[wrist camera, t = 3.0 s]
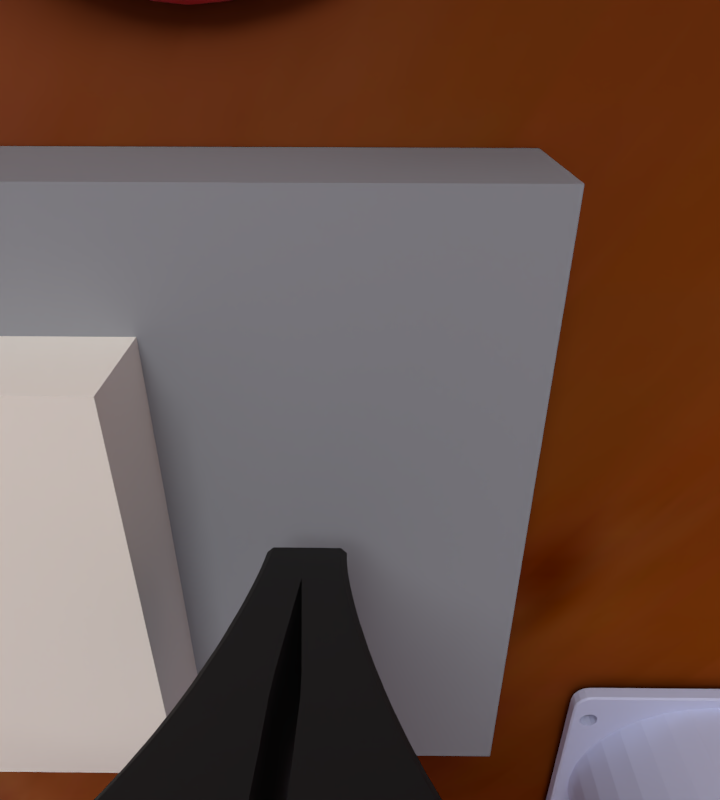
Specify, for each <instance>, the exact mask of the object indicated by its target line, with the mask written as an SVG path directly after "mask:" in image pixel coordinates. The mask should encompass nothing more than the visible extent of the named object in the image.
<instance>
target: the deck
mask: <svg viewBox="0 0 720 800" xmlns="http://www.w3.org/2000/svg"><path fill="white" fill-rule="evenodd" d="M583 190H584V183H583V182H581V181H580V180H579V179H577V178H576V177H575V176H574V175H572V174H571V173H570V172H569V171H567V170H566V169H565V168H564V167H562V166H561V165H560V164H558V163H557V162H556V161H555V160H553V159H552V158H551V157H550V156H548V155H547V154H546V153H544V152H543V151H542V150H541V149H539V148H354V147H90V146H0V336H67V337H136V338H137V344H138V349H139V355H140V360H141V366H142V371H143V377H144V382H145V388H146V393H147V399H148V404H149V410H150V415H151V421H152V426H153V432H154V438H155V443H156V449H157V454H158V460H159V465H160V471H161V476H162V482H163V487H164V493H165V498H166V504H167V509H168V515H169V520H170V526H171V531H172V537H173V543H174V548H175V554H176V559H177V565H178V570H179V576H180V581H181V587H182V592H183V598H184V603H185V609H186V614H187V620H188V625H189V631H190V637H191V642H192V648H193V653H194V659H195V664H196V670H197V675H198V674H199V672H200V671H201V669H202V668H203V666H204V665H205V663H206V662H207V660H208V659H209V658H210V656H211V655H212V653H213V652H214V650H215V649H216V647H217V646H218V644H219V642H220V641H221V639H222V638H223V636H224V634H225V633H226V631H227V629H228V628H229V626H230V624H231V623H232V621H233V619H234V618H235V616H236V614H237V613H238V611H239V609H240V607H241V606H242V604H243V602H244V600H245V598H246V596H247V595H248V593H249V591H250V589H251V587H252V585H253V583H254V581H255V579H256V577H257V575H258V573H259V571H260V569H261V567H262V564H263V562H264V560H265V557H266V555H267V552H268V551H270V550H271V549H272V548H273V547H290V548H341V549H343V550H344V551H345V552H346V553H347V568H348V576H349V582H350V587H351V591H352V596H353V600H354V604H355V608H356V611H357V615H358V618H359V621H360V624H361V627H362V630H363V633H364V636H365V639H366V642H367V645H368V648H369V651H370V654H371V657H372V659H373V662H374V665H375V667H376V670H377V672H378V674H379V677H380V679H381V682H382V684H383V687H384V689H385V691H386V694H387V696H388V698H389V701H390V703H391V705H392V707H393V709H394V712H395V714H396V716H397V718H398V720H399V722H400V724H401V726H402V728H403V730H404V732H405V734H406V736H407V738H408V740H409V742H410V744H411V746H412V748H413V750H414V752H415V754H416V755H417V756H490V752H491V746H492V740H493V734H494V728H495V722H496V716H497V710H498V704H499V698H500V692H501V686H502V680H503V673H504V667H505V661H506V655H507V649H508V643H509V637H510V631H511V625H512V619H513V613H514V607H515V601H516V595H517V589H518V583H519V577H520V571H521V565H522V559H523V553H524V546H525V540H526V534H527V528H528V522H529V516H530V510H531V504H532V498H533V492H534V486H535V480H536V474H537V468H538V462H539V456H540V450H541V444H542V438H543V432H544V426H545V419H546V413H547V407H548V401H549V395H550V389H551V383H552V377H553V371H554V365H555V359H556V353H557V347H558V341H559V335H560V329H561V323H562V317H563V311H564V305H565V299H566V293H567V286H568V280H569V274H570V268H571V262H572V256H573V250H574V244H575V238H576V232H577V226H578V220H579V214H580V208H581V202H582V196H583Z"/></svg>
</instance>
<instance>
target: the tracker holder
mask: <svg viewBox="0 0 720 800" xmlns="http://www.w3.org/2000/svg"><path fill="white" fill-rule="evenodd" d="M150 1H157V2H166V3H175V4H187V5H191V4H202V3H213V2H224V1H231V0H150Z"/></svg>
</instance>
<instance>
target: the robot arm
mask: <svg viewBox="0 0 720 800" xmlns="http://www.w3.org/2000/svg"><path fill="white" fill-rule="evenodd" d="M94 800H442V799H441V798H440V796H439V794H438V792H437V791H436V789H435V787H434V786H433V784H432V782H431V781H430V779H429V777H428V776H427V774H426V772H425V770H424V769H423V767H422V765H421V763H420V761H419V759H418V757H417V755H416V754H415V752H414V750H413V748H412V746H411V744H410V742H409V740H408V738H407V736H406V734H405V732H404V730H403V728H402V726H401V724H400V722H399V720H398V718H397V716H396V714H395V712H394V709H393V707H392V705H391V703H390V701H389V698H388V696H387V694H386V691H385V689H384V687H383V684H382V682H381V679H380V677H379V674H378V672H377V670H376V667H375V665H374V662H373V659H372V657H371V654H370V651H369V648H368V645H367V642H366V639H365V636H364V633H363V630H362V627H361V624H360V621H359V618H358V615H357V611H356V608H355V604H354V600H353V596H352V591H351V587H350V582H349V576H348V568H347V553H346V552H345V551H344V550H343V549H341V548H290V547H273V548H272V549H271V550H270V551H268V552H267V555H266V557H265V560H264V562H263V564H262V567H261V569H260V571H259V573H258V575H257V577H256V579H255V581H254V583H253V585H252V587H251V589H250V591H249V593H248V595H247V596H246V598H245V600H244V602H243V604H242V606H241V607H240V609H239V611H238V613H237V614H236V616H235V618H234V619H233V621H232V623H231V624H230V626H229V628H228V629H227V631H226V633H225V634H224V636H223V638H222V639H221V641H220V642H219V644H218V646H217V647H216V649H215V650H214V652H213V653H212V655H211V656H210V658H209V659H208V660H207V662H206V663H205V665H204V666H203V668H202V669H201V671H200V672H199V674H198V675H197V677H196V678H195V680H194V681H193V683H192V684H191V685H190V687H189V688H188V689H187V691H186V692H185V694H184V695H183V696H182V698H181V699H180V700H179V702H178V703H177V704H176V706H175V707H174V708H173V709H172V711H171V712H170V713H169V715H168V716H167V717H166V718H165V720H164V721H163V722H162V723H161V725H160V726H159V727H158V728H157V730H156V731H155V732H154V733H153V735H152V736H151V737H150V738H149V739H148V740H147V742H146V743H145V744H144V745H143V746H142V747H141V749H140V750H139V751H138V752H137V753H136V754H135V755H134V757H133V758H132V759H131V760H130V761H129V762H128V764H127V765H126V766H125V767H124V768H123V769H122V770H121V772H120V773H119V774H118V775H117V776H116V777H115V778H114V779H113V780H112V781H111V782H110V784H109V785H108V786H107V787H106V788H105V789H104V790H103V791H102V792H101V793H100V794H99V795H98V796H97V797H96V798H95V799H94ZM546 800H720V689H689V688H583V689H581V690H578V691H577V692H576V693H574V694H573V696H572V698H571V701H570V705H569V709H568V713H567V717H566V721H565V725H564V729H563V733H562V737H561V741H560V745H559V749H558V753H557V757H556V761H555V765H554V769H553V773H552V777H551V781H550V785H549V789H548V793H547V797H546Z"/></svg>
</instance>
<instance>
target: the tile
mask: <svg viewBox="0 0 720 800" xmlns="http://www.w3.org/2000/svg"><path fill="white" fill-rule="evenodd" d="M196 677H197V670H196V664H195V659H194V653H193V648H192V642H191V637H190V631H189V625H188V620H187V614H186V609H185V603H184V598H183V592H182V587H181V581H180V576H179V570H178V565H177V559H176V554H175V548H174V543H173V537H172V531H171V526H170V520H169V515H168V509H167V504H166V498H165V493H164V487H163V482H162V476H161V471H160V465H159V460H158V454H157V449H156V443H155V438H154V432H153V426H152V421H151V415H150V410H149V404H148V399H147V393H146V388H145V382H144V377H143V371H142V366H141V360H140V355H139V349H138V344H137V338H136V337H67V336H0V772H97V773H120V772H121V770H122V769H123V768H124V767H125V766H126V765H127V764H128V762H129V761H130V760H131V759H132V758H133V757H134V755H135V754H136V753H137V752H138V751H139V750H140V749H141V747H142V746H143V745H144V744H145V743H146V742H147V740H148V739H149V738H150V737H151V736H152V735H153V733H154V732H155V731H156V730H157V728H158V727H159V726H160V725H161V723H162V722H163V721H164V720H165V718H166V717H167V716H168V715H169V713H170V712H171V711H172V709H173V708H174V707H175V706H176V704H177V703H178V702H179V700H180V699H181V698H182V696H183V695H184V694H185V692H186V691H187V689H188V688H189V687H190V685H191V684H192V683H193V681H194V680H195V678H196Z"/></svg>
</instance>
